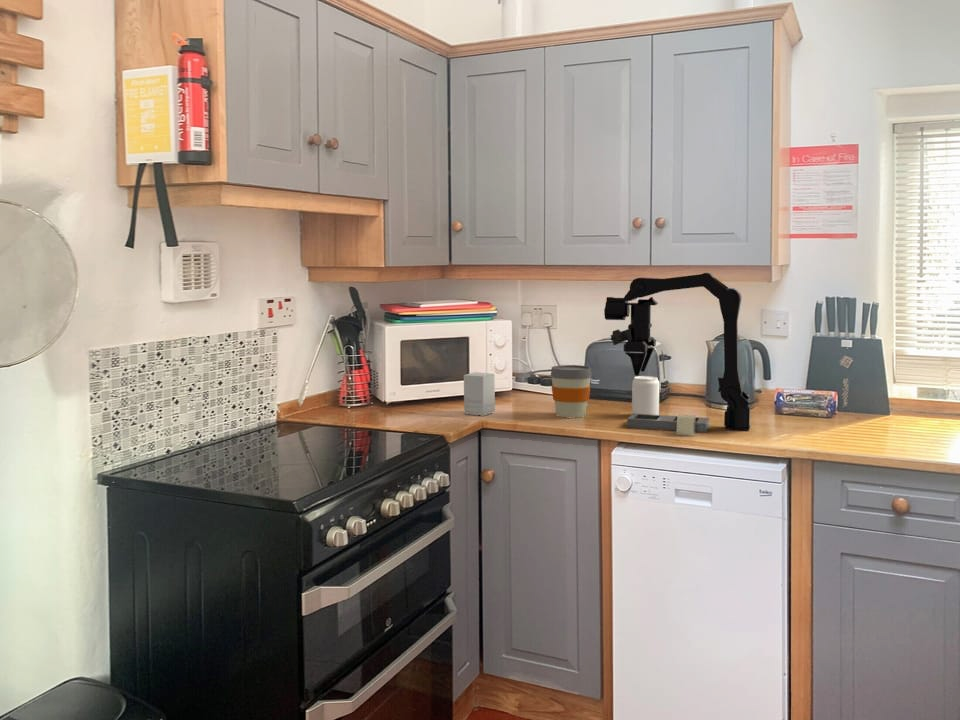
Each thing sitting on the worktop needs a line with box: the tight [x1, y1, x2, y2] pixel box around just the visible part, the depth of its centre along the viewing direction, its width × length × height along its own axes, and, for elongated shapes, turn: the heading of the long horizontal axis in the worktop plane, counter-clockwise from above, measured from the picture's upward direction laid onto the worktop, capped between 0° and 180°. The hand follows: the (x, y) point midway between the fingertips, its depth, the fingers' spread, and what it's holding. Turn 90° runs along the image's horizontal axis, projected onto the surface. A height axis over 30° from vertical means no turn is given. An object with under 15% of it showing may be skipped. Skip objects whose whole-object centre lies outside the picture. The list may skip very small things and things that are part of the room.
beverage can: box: [631, 375, 660, 415], centre depth 259 cm, size 8×8×12 cm
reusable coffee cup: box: [550, 364, 593, 418], centre depth 261 cm, size 13×13×15 cm
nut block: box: [676, 414, 697, 437], centre depth 233 cm, size 4×4×5 cm
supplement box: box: [463, 372, 496, 417], centre depth 265 cm, size 7×7×13 cm
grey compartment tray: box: [626, 413, 710, 433], centre depth 243 cm, size 22×9×2 cm, turn 69°
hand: (639, 373), depth 248 cm, fingers open, 9 cm apart
